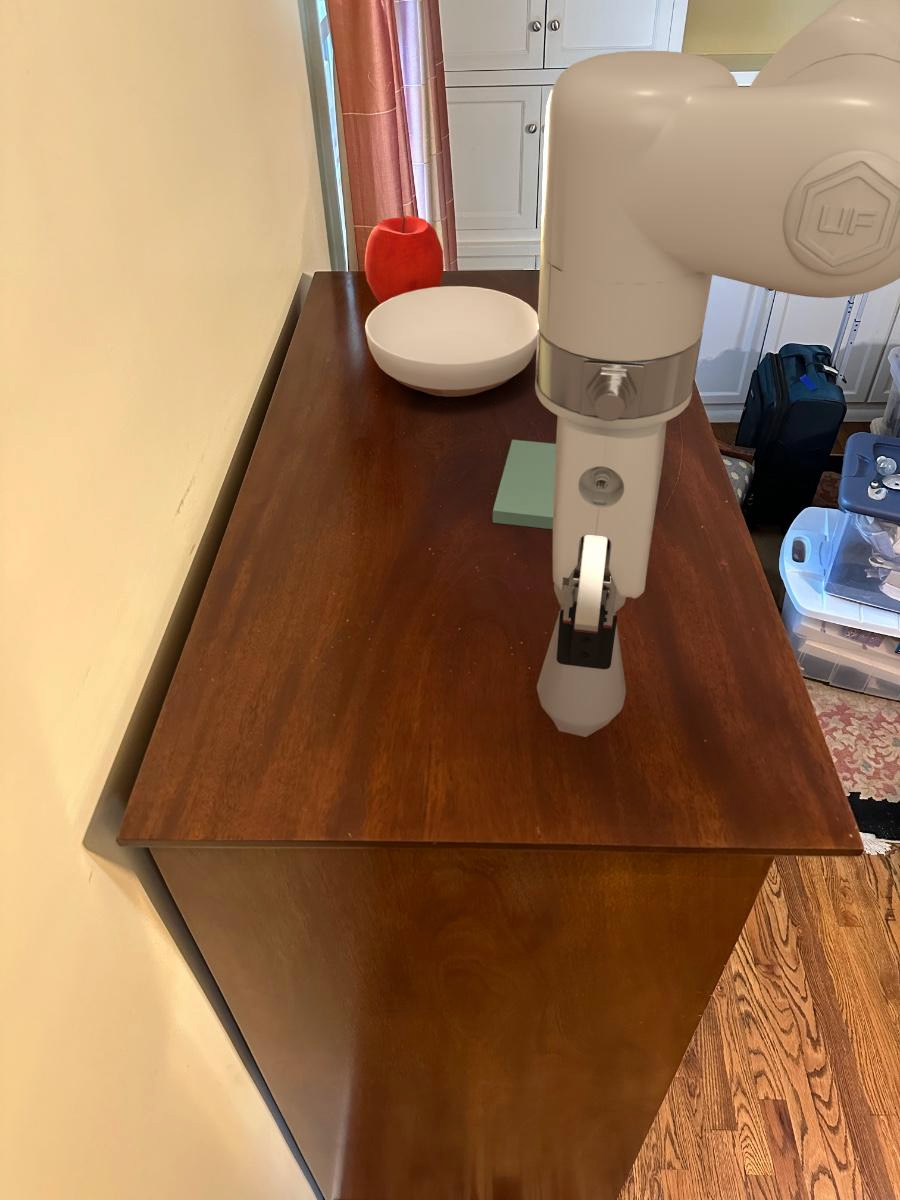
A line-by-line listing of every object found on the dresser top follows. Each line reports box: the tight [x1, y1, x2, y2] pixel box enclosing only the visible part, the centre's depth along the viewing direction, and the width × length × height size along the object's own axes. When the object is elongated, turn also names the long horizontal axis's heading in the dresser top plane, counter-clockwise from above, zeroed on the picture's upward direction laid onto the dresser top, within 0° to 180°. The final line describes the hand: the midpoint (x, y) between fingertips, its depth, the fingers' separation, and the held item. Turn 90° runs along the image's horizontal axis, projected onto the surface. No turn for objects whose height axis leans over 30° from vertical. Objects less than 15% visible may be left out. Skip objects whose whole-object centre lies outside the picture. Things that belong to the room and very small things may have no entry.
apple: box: [364, 215, 445, 305], centre depth 107 cm, size 10×10×12 cm
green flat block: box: [492, 439, 556, 530], centre depth 81 cm, size 14×12×3 cm
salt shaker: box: [536, 566, 627, 738], centre depth 54 cm, size 6×6×13 cm
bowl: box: [364, 285, 538, 398], centre depth 97 cm, size 20×20×6 cm
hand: (587, 631), depth 53 cm, fingers closed on salt shaker, 4 cm apart
